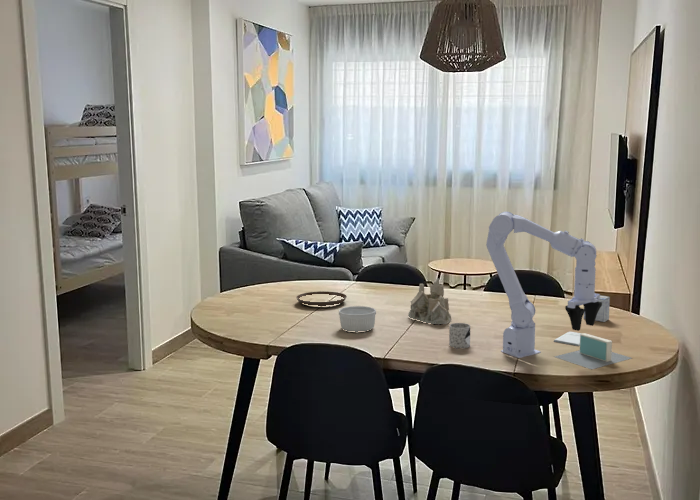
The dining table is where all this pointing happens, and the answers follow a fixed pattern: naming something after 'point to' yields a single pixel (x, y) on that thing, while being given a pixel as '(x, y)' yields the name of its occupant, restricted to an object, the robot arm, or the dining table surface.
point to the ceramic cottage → (430, 305)
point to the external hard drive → (569, 338)
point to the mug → (459, 335)
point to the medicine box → (603, 309)
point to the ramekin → (357, 318)
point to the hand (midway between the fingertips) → (583, 327)
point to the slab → (595, 347)
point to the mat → (590, 359)
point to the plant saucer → (322, 302)
